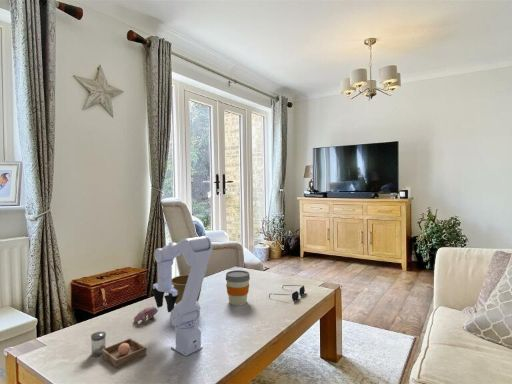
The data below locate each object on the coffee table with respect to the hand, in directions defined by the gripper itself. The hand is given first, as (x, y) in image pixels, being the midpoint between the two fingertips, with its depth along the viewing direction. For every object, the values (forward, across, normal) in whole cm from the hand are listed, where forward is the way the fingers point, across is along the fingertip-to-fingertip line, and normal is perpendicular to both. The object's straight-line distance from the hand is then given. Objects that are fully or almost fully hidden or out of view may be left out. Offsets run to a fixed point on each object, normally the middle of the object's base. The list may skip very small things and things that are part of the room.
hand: (165, 309), depth 133 cm
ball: (+7, -4, +20) cm, 22 cm away
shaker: (+10, +5, +25) cm, 27 cm away
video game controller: (+10, +18, -2) cm, 20 cm away
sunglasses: (+11, -14, -69) cm, 71 cm away
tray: (+10, -4, +20) cm, 23 cm away
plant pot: (+10, +10, -19) cm, 24 cm away
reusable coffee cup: (+10, 0, -44) cm, 45 cm away
